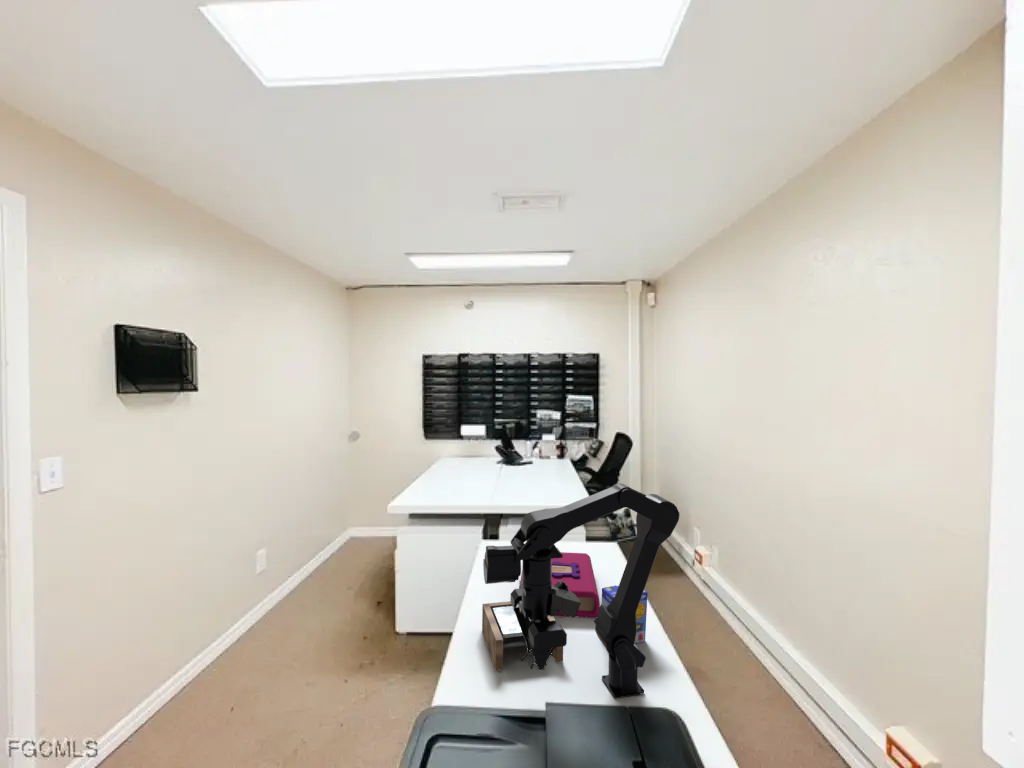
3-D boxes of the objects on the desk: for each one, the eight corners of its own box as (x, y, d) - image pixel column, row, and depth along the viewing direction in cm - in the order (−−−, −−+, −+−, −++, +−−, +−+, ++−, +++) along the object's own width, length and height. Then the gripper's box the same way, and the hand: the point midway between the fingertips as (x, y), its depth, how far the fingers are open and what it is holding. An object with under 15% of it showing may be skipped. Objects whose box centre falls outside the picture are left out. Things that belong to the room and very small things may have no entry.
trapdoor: (551, 632, 109) (551, 628, 109) (503, 637, 106) (503, 634, 106) (536, 606, 120) (536, 603, 120) (492, 611, 118) (492, 608, 118)
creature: (511, 662, 98) (524, 676, 91) (510, 633, 99) (522, 645, 92) (548, 655, 101) (563, 669, 93) (546, 627, 102) (561, 638, 94)
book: (590, 575, 155) (590, 551, 154) (599, 620, 127) (599, 591, 126) (523, 572, 156) (524, 548, 156) (518, 615, 128) (518, 587, 128)
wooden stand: (562, 661, 107) (563, 632, 107) (495, 670, 104) (496, 640, 104) (541, 623, 123) (541, 598, 123) (482, 630, 120) (482, 603, 120)
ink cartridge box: (611, 649, 112) (612, 587, 112) (598, 637, 118) (600, 577, 117) (647, 642, 116) (649, 581, 116) (633, 630, 121) (635, 572, 121)
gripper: (594, 597, 88) (593, 682, 89) (560, 558, 106) (559, 629, 107) (535, 603, 86) (533, 691, 86) (510, 562, 104) (509, 635, 104)
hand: (535, 658), depth 96 cm, fingers closed on creature, 7 cm apart
